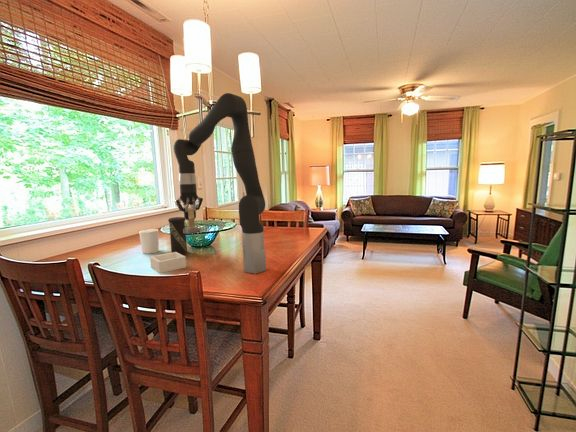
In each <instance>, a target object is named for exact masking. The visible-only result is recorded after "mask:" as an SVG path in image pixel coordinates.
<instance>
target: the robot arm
mask: <svg viewBox="0 0 576 432" xmlns="http://www.w3.org/2000/svg"><path fill="white" fill-rule="evenodd" d="M248 115H249V114H248V107H247V104H246V101H245V99H244V98H242V96H239V95H236V94H233V93H230V92H229V93H228V92H226V93H224V94H222V95H221V96H220V97H219V98H218V99H217V100H216V102H215V103H214V104H213V106H212V107H211V109H210V110H209V112H208V113H207V114H206V115H205V117H204V118H203V119H202V121H200V122H199V123H198V124H197V125H196V126H194V128H193V129H192V130H191V131H190V132H189V133H188V137H187V138H188V139H182V138H179V139H176V140H175V141H174V144H173V153H174V156H175V160H176V161H177V164H178V176H179V177H178V180H179V181H178V183H179V195H180V196H179V198H177V199H174V203H175V205H176V206H177V209H178V210H179V211H181V212H183V217H184V218H185V221H187V220H189V217H188V208H193V209H194V220H196V218H197V211H199V210H200V208H201V205H202V203H203V200H204V198H203V197H199V196H198V195H197V194H198V192H197V177H196V169H195V168H196V167H195V162H194V161H192V160H190V158H189V157H188V156H193V155H195V154H196V153H197V152H199V150H200V148H201V146H202V144H204V143H205V142H206V141H207V140H208V139H210V137H212V135H213V133H214V131H215V128H216V127H217V125H218V123H220V121H222V120H224V119H226V118H231V121H232V122H231V123H232V125H233V132H234V133H233V139H232V143H231V147H230V150H231V156H232V161H233V165H234V168H235V170H236V172H237V173H238V176H239V178H240V179H241V181H242V183H243V185H244V189H245V195H243V196H242V197H241V198H240V200H239V202H238V217H239V225H240V227H241V232H242V233H241V234H242V235H241V236H242V237H241V238H242V257H243V258H242V261H243V272H245V273H248V274H253V275H254V274H255V275H256V274H259V273H262V272H266V271H267V255H266V249H265V236H264V233H265V231H264V224H262V223H261V222H260V215H261V214H262V213H264V211H265V209H266V200H265V196H264V192H263V189H262V186H261V183H260V179H259V172H258V168H257V165H256V158H255V152H254V151H255V150H254V147H253V143H252V137H251V132H250V127H249V116H248ZM181 203H183V204H181ZM189 205H190V207H189Z"/></svg>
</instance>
